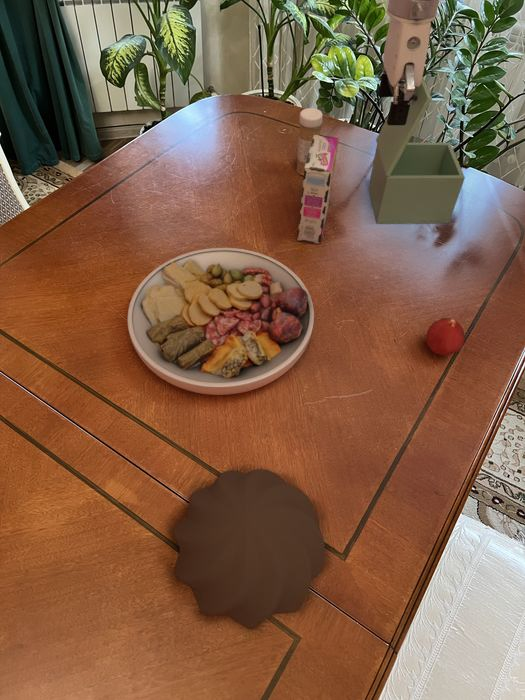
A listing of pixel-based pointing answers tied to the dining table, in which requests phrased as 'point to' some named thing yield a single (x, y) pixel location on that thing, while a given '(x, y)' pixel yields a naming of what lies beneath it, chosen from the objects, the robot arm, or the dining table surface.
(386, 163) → the lid
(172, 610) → the dining table surface
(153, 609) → the dining table surface
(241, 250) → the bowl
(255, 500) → the decorative dome
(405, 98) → the robot arm
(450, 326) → the onion
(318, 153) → the candy bar box
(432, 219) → the compartment
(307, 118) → the sprinkles bottle
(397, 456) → the dining table surface
